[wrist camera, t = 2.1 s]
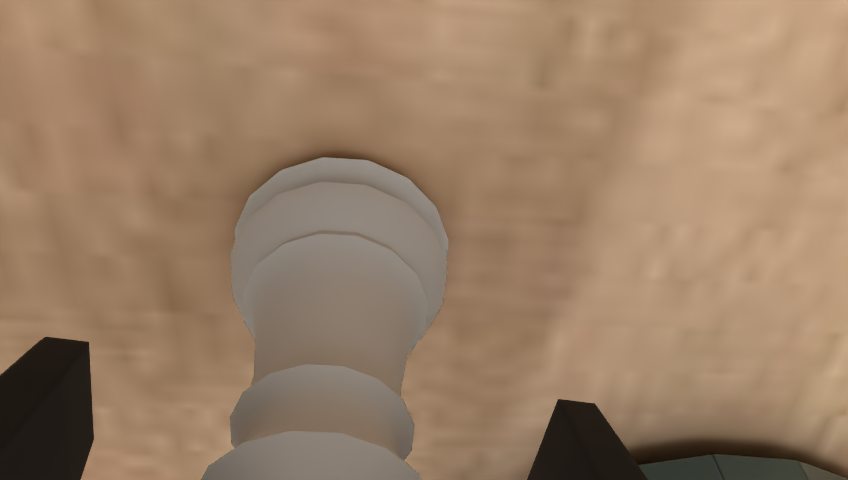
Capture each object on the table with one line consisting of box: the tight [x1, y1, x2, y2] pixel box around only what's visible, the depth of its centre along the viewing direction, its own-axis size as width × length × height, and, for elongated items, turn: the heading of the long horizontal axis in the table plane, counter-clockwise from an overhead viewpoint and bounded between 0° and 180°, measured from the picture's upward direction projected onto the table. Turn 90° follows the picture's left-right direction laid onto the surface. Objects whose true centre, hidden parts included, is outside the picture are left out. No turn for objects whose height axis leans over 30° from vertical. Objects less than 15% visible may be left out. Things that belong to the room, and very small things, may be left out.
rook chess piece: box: [201, 157, 449, 480], centre depth 13 cm, size 4×4×8 cm
